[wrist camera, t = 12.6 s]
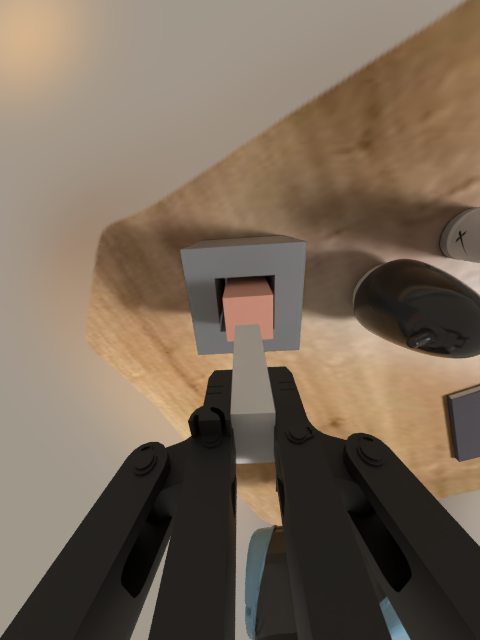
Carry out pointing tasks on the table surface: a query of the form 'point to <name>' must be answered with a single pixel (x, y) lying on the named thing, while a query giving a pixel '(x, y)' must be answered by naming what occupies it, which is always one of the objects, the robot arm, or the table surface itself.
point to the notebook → (465, 423)
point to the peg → (248, 305)
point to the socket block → (241, 261)
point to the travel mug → (463, 236)
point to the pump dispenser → (419, 309)
